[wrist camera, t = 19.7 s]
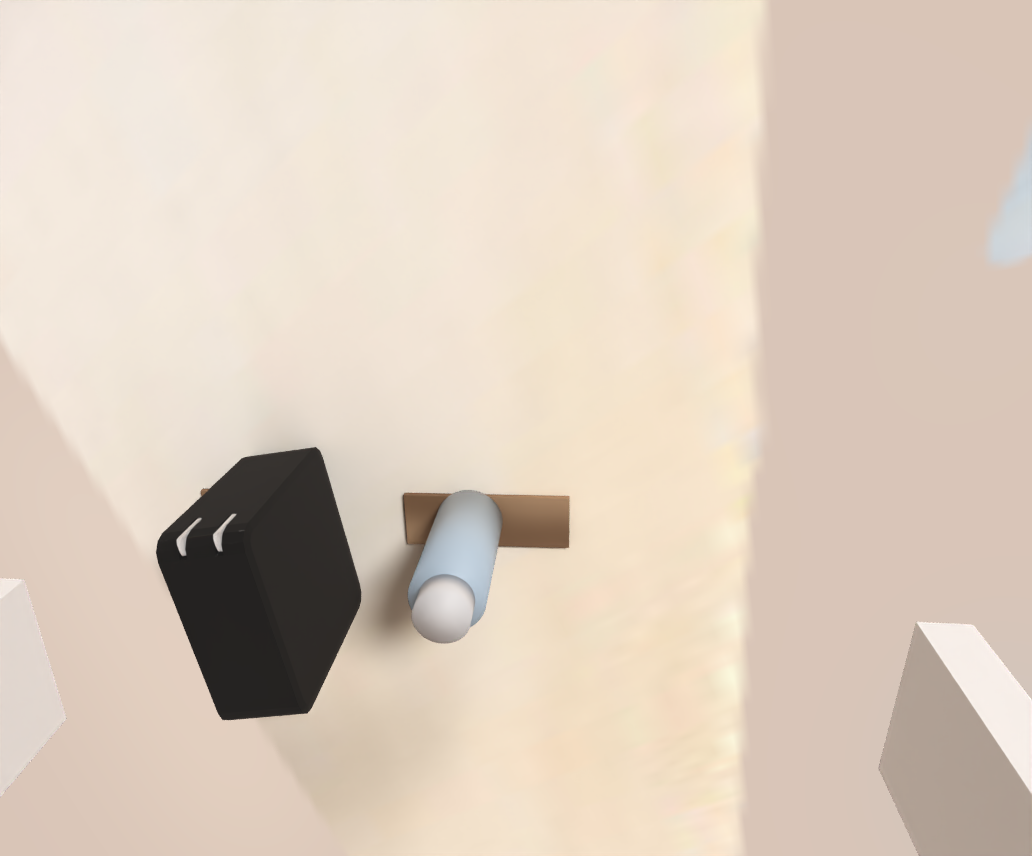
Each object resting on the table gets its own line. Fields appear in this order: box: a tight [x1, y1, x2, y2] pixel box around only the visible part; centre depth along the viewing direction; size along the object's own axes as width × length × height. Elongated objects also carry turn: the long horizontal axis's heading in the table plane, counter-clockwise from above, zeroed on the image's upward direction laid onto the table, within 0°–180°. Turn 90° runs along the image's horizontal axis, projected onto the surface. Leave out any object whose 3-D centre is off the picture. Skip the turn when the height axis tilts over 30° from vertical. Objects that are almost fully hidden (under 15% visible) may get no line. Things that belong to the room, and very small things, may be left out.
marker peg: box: [408, 490, 503, 643], centre depth 36 cm, size 4×4×9 cm
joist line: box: [201, 489, 569, 548], centre depth 41 cm, size 3×20×1 cm, turn 91°
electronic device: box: [156, 447, 361, 720], centre depth 37 cm, size 4×10×10 cm, turn 10°
